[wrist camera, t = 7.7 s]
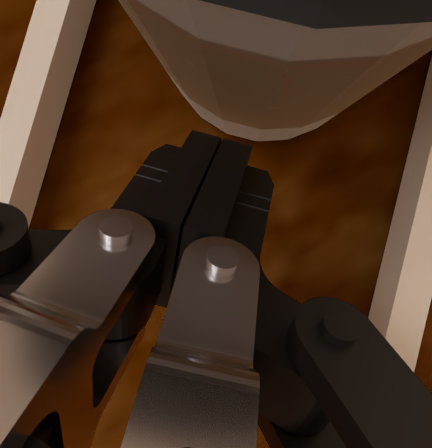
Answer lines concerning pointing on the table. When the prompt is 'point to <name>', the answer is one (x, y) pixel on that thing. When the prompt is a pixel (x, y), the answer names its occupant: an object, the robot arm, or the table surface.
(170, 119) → the table surface
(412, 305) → the guide track
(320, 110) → the coffee cup
